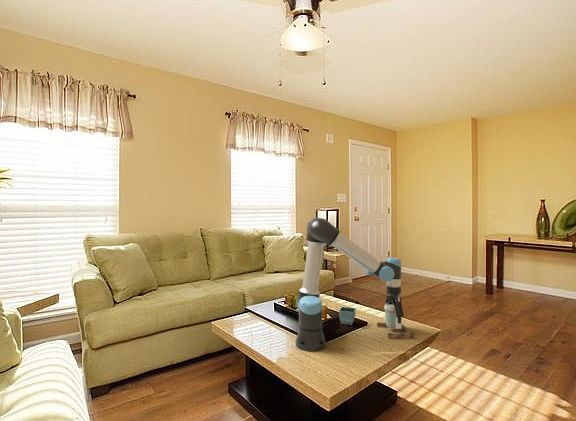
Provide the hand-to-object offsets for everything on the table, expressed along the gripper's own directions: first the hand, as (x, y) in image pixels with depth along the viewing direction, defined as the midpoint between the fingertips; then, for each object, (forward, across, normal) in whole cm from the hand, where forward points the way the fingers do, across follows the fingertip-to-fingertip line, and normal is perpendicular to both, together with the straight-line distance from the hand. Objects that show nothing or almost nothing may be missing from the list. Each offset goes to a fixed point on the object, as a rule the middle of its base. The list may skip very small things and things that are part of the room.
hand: (393, 324), depth 178 cm
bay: (+4, 0, 0) cm, 4 cm away
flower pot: (+5, +14, +22) cm, 27 cm away
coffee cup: (+2, +3, 0) cm, 3 cm away
